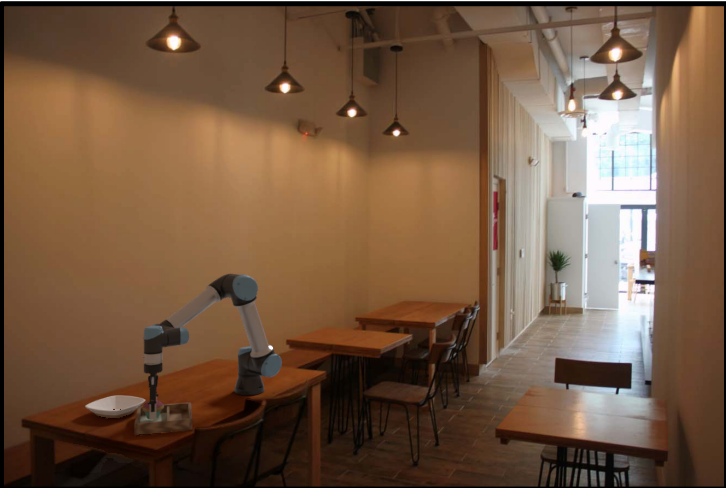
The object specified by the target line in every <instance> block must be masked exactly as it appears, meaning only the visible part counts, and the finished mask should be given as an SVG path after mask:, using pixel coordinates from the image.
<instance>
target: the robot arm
mask: <svg viewBox="0 0 726 488" xmlns="http://www.w3.org/2000/svg"><path fill="white" fill-rule="evenodd" d="M258 291H259V286H258V283H257V280H255V279H254V277H252V276H250V275H247V274H236V273H226V274H224V275H222V276H220V277H218V278H216V279H215V280H213V281H212V282H211V283H209V284H208V285H207V286H206V287H205V289H204V290H203V291H202V292H201V293H199V294H198V295H196V296H195V297H194V298H193V299H191V300H190V301H188V302H187V303H185V305H183V306H182V307H181V308H179V309H178V310H176V311H175V312H173V313H172V314H170V316H168V317H167V318H166V319H165V320H163V321H162V322H160V323H154V324H152V325H150V326H146V327H144V329H143V338H142V339H143V355H142V356H141V357H142V359H143V373H144V374H147V375H148V374H149V375H148V377H147V381H148V388H149V389H150V394H149V401H150V402H149V401H148V402H149V403H148V404H149V415H150V419H156V400H157V401H158V397H159V393H158V390H157V388H158V383H159V382H158V381H159V375H158V374H159V373H161V372H163V353H164V352H163V348H168V347H175V346H183V345H186V344H187V343H189V341H190V332H189V329H188V328H187V327H185V326H186V325H187V324H188V323H189V322H191V321H192V320H194V319H195V318H197V316H199V315H200V314H201V313H203V312H205V310H207V309H208V308H209V307H211V306H212V305H213V304H215V303H219V302H221V301H222V300H224V299H228V298H230V299H231V303H232V305H233V307H236V309H237V311H238V313H239V316H240V319H241V322H242V325H243V328H244V330H245V334H246V336H247V337H246V338H247V339H248V343H249V346H243V347H240V348H239V349H238V351H237V379H236V382H235V385H234V393H235V394H237V395H241V396H255V395H259V394H262V393H264V392H265V385H264V382H263V381H264V380H263V378H262V377H265V378H272V377H275V376H277V375H278V373H279V372H280V371H281V368H282V364H283V362H282V361H283V360H282V358H281V356H280V355H279V354H277V353H275V349H274V347H273V345H271V344H269V341H268V338H267V335H266V332H265V328H264V326H263V322H262V319H261V317H260V316H261V315H260V314H259V310H258V308H257V305H256V301H257V298H258V297H257V295H258Z"/></svg>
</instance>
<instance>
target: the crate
mask: <svg viewBox="0 0 726 488" xmlns="http://www.w3.org/2000/svg"><path fill="white" fill-rule="evenodd" d="M163 404H164V408H163V409H162V410H161V412H160V415H159V417H158V418H156V419H147V416H146V414H145V412H144V411H143V405H142V406H141V405H140V406H139V407H138V408H137V409H136V416H135V420H134V426H133V427H134V430H133V431H134V435H138V434H150V433H161V432H171V431H182V432H188V431H187V430H192V431H193V413H192V402H177V403H176V402H175V403H167V404H166V403H163ZM161 434H162V433H161Z"/></svg>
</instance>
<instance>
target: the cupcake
mask: <svg viewBox="0 0 726 488" xmlns="http://www.w3.org/2000/svg"><path fill="white" fill-rule="evenodd" d="M148 393H149V395H150V388H149V391H148ZM149 402H150V400H149V401H147V402H144V403H143V404H142V406H143V411H144V412H145V414H146V416H147V419H150V415H149V404H148V403H149ZM164 404H165V403H163V402H162V401H160V400H158V399H157V400H156V418H158V417H159V415H160V412H161V410H162V409H163V408H164Z"/></svg>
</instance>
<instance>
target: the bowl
mask: <svg viewBox="0 0 726 488" xmlns="http://www.w3.org/2000/svg"><path fill="white" fill-rule="evenodd" d="M145 402H146V399H144V398H143V397H138V396H132V395H111V396H107V397H104V398H103V397H102V398H100V399H96V400H94V401H92V402H89V403H88V404H85V405H84V407H85V408H86V409H87V410H88V411H91V412H92V413H93V414H94V415H96V416H97V417H99V416H101V417H100V418H102V417H106V418H105V419H108V418H118V419H121V418H124V417H123V416H125V417H127V416H129V415H132V414H133V413H134V412H135V411H137V409H138V407H139V406H141V405H143V404H144V403H145ZM113 409H115V410H113ZM120 409H121V410H120ZM126 415H127V416H126ZM120 417H121V418H120Z"/></svg>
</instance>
